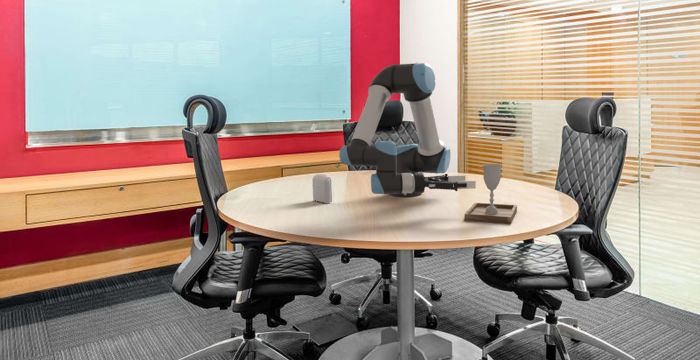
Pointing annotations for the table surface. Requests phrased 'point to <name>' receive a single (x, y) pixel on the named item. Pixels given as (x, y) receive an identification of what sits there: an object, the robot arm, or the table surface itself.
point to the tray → (503, 216)
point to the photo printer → (322, 188)
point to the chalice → (492, 183)
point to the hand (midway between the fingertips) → (470, 181)
